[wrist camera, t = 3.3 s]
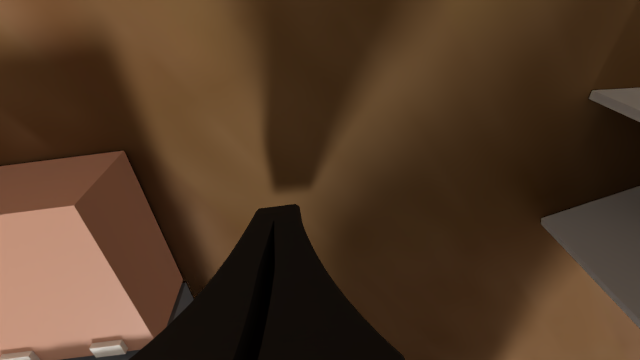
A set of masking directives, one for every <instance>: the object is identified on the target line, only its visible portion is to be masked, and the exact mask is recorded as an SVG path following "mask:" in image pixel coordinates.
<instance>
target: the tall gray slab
mask: <svg viewBox="0 0 640 360" xmlns="http://www.w3.org/2000/svg"><path fill="white" fill-rule="evenodd" d="M589 99H590V100H592V101H595V102H597V103H599V104H601V105H603V106H605V107H608V108H610V109H612V110H614V111H616V112H618V113H621V114H623V115H625V116H627V117H629V118H632V119H634V120H636V121H638V122H640V88H624V89H605V90H592V92H591V94H590V97H589ZM541 225H542V226H543V227H544V228H545V229H546V230H547V231H548V232H549V233H550V234H551V235H552V236H553V237H554V238H555V240H556V241H557V242H558V243H559V244H560V245H561V246H562V247H563V248H564V249H565V250H566V251H567V252H568V253H569V254H570V255H571V256H572V257H573V259H574V260H575V261H576V262H577V263H578V264H579V265H580V266H581V267H582V268H583V269H584V270H585V271H586V272H587V273H588V274H589V275H590V276H591V278H592V279H593V280H594V281H595V282H596V283H597V284H598V285H599V286H600V287H601V288H602V289H603V290H604V291H605V292H606V293H607V294H608V295H609V297H610V298H611V299H612V300H613V301H614V302H615V303H616V304H617V305H618V306H619V307H620V308H621V309H622V310H623V311H624V312H625V313H626V315H627V316H628V317H629V318H630V319H631V320H632V321H633V322H634V323H635V324H636V325H637V326H638V327H639V328H640V186H638V187H635V188H632V189H629V190H626V191H623V192H620V193H617V194H614V195H611V196H607V197H604V198H601V199H598V200H595V201H592V202H589V203H586V204H583V205H580V206H577V207H574V208H571V209H568V210H565V211H562V212H559V213H556V214H553V215H549V216H546V217H543V218H541Z"/></svg>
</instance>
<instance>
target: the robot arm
mask: <svg viewBox="0 0 640 360" xmlns="http://www.w3.org/2000/svg"><path fill="white" fill-rule="evenodd" d="M129 360H405V359H404V357H403V355H402V354H401V353H400V352H398V351H397V350H396V349H395V348H394V347H393V346H392V345H391V344H389V343H388V342H387V341H386V340H385V339H384V338H383V337H382V336H381V335H380V334H379V333H378V332H377V331H376V330H375V329H374V328H373V327H372V326H371V325H370V324H369V323H368V322H367V321H366V320H365V319H364V318H363V317H362V315H361V314H360V313H359V312H358V311H357V310H356V309H355V307H354V306H353V305H352V304H351V303H350V302H349V301H348V299H347V298H346V297H345V296H344V295H343V293H342V292H341V291H340V289H339V288H338V287H337V285H336V284H335V283H334V281H333V280H332V278H331V277H330V275H329V274H328V272H327V271H326V269H325V268H324V266H323V265H322V263H321V261H320V260H319V258H318V256H317V254H316V253H315V251H314V249H313V247H312V245H311V243H310V241H309V239H308V236H307V234H306V232H305V229H304V227H303V224H302V219H301V213H300V207H299V206H298V205H296V204H293V205H285V206H277V207H269V208H261V209H258V210H257V211H256V213H255V215H254V216H253V218H252V220H251V222H250V223H249V225H248V227H247V229H246V230H245V232H244V233H243V235H242V237H241V238H240V240H239V241H238V243H237V244H236V246H235V247H234V249H233V250H232V252H231V253H230V255H229V256H228V258H227V259H226V260H225V262H224V263H223V265H222V266H221V267H220V269H219V270H218V271H217V273H216V274H215V275H214V277H213V278H212V279H211V280H210V281H209V283H208V284H207V285H206V286H205V288H204V289H203V290H202V291H201V292H200V293H199V294H198V296H197V297H196V298H195V299H194V300H193V301H192V302H191V303H190V304H189V305H188V306H187V307H186V308H185V309H184V310H183V311H182V312H181V313H180V314H179V315H178V316H177V317H176V318H175V319H174V320H173V321H172V322H171V323H170V324H169V325H168V326H167V327H166V328H165V329H164V330H163V331H162V332H160V333H159V334H158V335H157V336H156V337H155V338H154V339H153V340H151V341H150V342H149V343H148V344H147V345H146V346H144V347H143V348H142V349H141V350H140V351H138V352H137V353H136V354H135V355H134V356H132V357H131V358H130V359H129Z"/></svg>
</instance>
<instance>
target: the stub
mask: <svg viewBox="0 0 640 360" xmlns="http://www.w3.org/2000/svg"><path fill="white" fill-rule="evenodd" d="M182 281H183V278H182V276H181V274H180V272H179V269H178V267H177V265H176V263H175V261H174V259H173V256H172V254H171V252H170V250H169V248H168V245H167V243H166V241H165V239H164V237H163V235H162V232H161V230H160V228H159V226H158V224H157V222H156V219H155V217H154V215H153V213H152V211H151V208H150V206H149V204H148V202H147V200H146V198H145V195H144V193H143V191H142V189H141V187H140V184H139V182H138V180H137V178H136V176H135V174H134V171H133V169H132V167H131V165H130V163H129V161H128V158H127V156H126V154H125V152H124V151H116V152H108V153H101V154H93V155H85V156H77V157H69V158H61V159H53V160H45V161H38V162H30V163H22V164H14V165H6V166H0V360H61V359H69V358H77V357H85V356H93V355H94V356H95V357H96V358H97V357H105V356H113V355H121V354H126V352H127V351H133V350H141V349H142V348H143V347H144V346H146V345H147V344H148V343H149V342H150V341H151V340H153V339H154V338H155V337H156V336H157V335H158V334H159V333H160V332H162V331H163V330H164V329H165V328H166V326H167V324H168V321H169V318H170V315H171V312H172V309H173V307H174V304H175V301H176V298H177V295H178V292H179V290H180V287H181V284H182Z"/></svg>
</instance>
